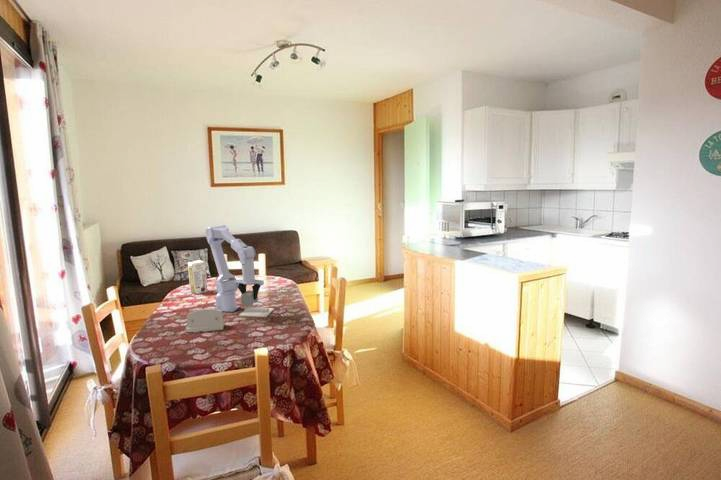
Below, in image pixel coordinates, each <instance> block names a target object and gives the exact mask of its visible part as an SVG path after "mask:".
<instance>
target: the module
mask: <svg viewBox="0 0 721 480" xmlns="http://www.w3.org/2000/svg"><path fill="white" fill-rule="evenodd" d="M240 298H241V306H242V307H253V306H254V303H258V302H259V298H258V296H257V299H256V300H254V294H253V290H250V289H249V290H246V292H245V293H243V294H241V296H240Z"/></svg>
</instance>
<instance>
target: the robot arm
mask: <svg viewBox="0 0 721 480" xmlns="http://www.w3.org/2000/svg"><path fill="white" fill-rule="evenodd" d="M205 237H206V241H207V244H209V246H210V250H211V253H212V256H213V260H214V262H215V266H216V269H217V273H218V277H217V279H216V280H215V285H216V286H215V287H216V291H217V294H216V296H215V304H216V310H220V311H222V312H230V313H231V312H232V313H233V312H235V311H236V310H237V309H239V308H241V307H240V305H237V298H236V297H237V296H236V292H237V290H239V292H240V294H241V295H242V294H243V293H245V292H246V291H247V285H249V286H250V285H251V288H252V291H253V294H254V300H256V299H257V296H258V294H259V291H260V288H261V286H264V285H265V283H264V282H265V281H264V280H261V279H256V275H255V260H254V258H255V257H256V255H257V253H256V249H255V247H253V246H249V245H247V244H246V243H245V242H244V241H242V239H240V238H236V237H235V236H233V235H232V234H231V232H230V230H229V227H227V225H225V224H221V225H216V226H208V227H206V230H205ZM224 241H226V242H227V243H228V244H230V249H232V250H234V251H235V252H236V253H237V255H238V258H239V261H240V264H241V272H242V273H241V274H242V279H237V278H236V276H235V274H232V273H231V272H230V269H229V267H228V263H227V260H226V257H225V253H224V250H223V247H222V243H224Z"/></svg>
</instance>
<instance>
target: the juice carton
mask: <svg viewBox="0 0 721 480" xmlns="http://www.w3.org/2000/svg"><path fill="white" fill-rule="evenodd" d="M187 269H188V279H189V280H188V281H189V290H190V294H193V295H200V294H202V293H203V294H204V293H207V292H208V283H207V281H208V280H207V273H206V263H205V260H199V259H197V260H194V261H188V262H187Z"/></svg>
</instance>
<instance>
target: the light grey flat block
mask: <svg viewBox="0 0 721 480" xmlns="http://www.w3.org/2000/svg"><path fill="white" fill-rule="evenodd" d="M186 318H187V319H186V326H185V333H186V332H193V333H200V332H199V331H203V332H209V331H210V332H211V331H220V330H221V331H222V330H224V327H225V326H226V324H225V318H224V311H220V310H217V308H216V309H214V308H202V309H198V310H194V311H191V312H189V313H188V314H187V317H186Z"/></svg>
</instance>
